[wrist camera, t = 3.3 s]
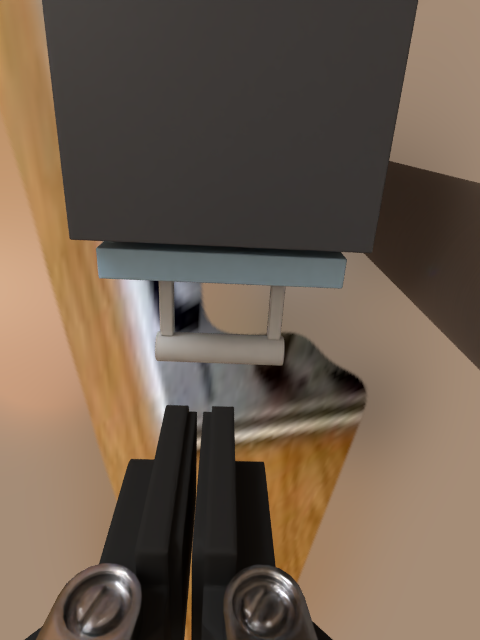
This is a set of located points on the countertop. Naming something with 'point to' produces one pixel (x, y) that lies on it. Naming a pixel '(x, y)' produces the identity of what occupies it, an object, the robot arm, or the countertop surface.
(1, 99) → the countertop surface
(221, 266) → the drawer
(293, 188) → the compartment
